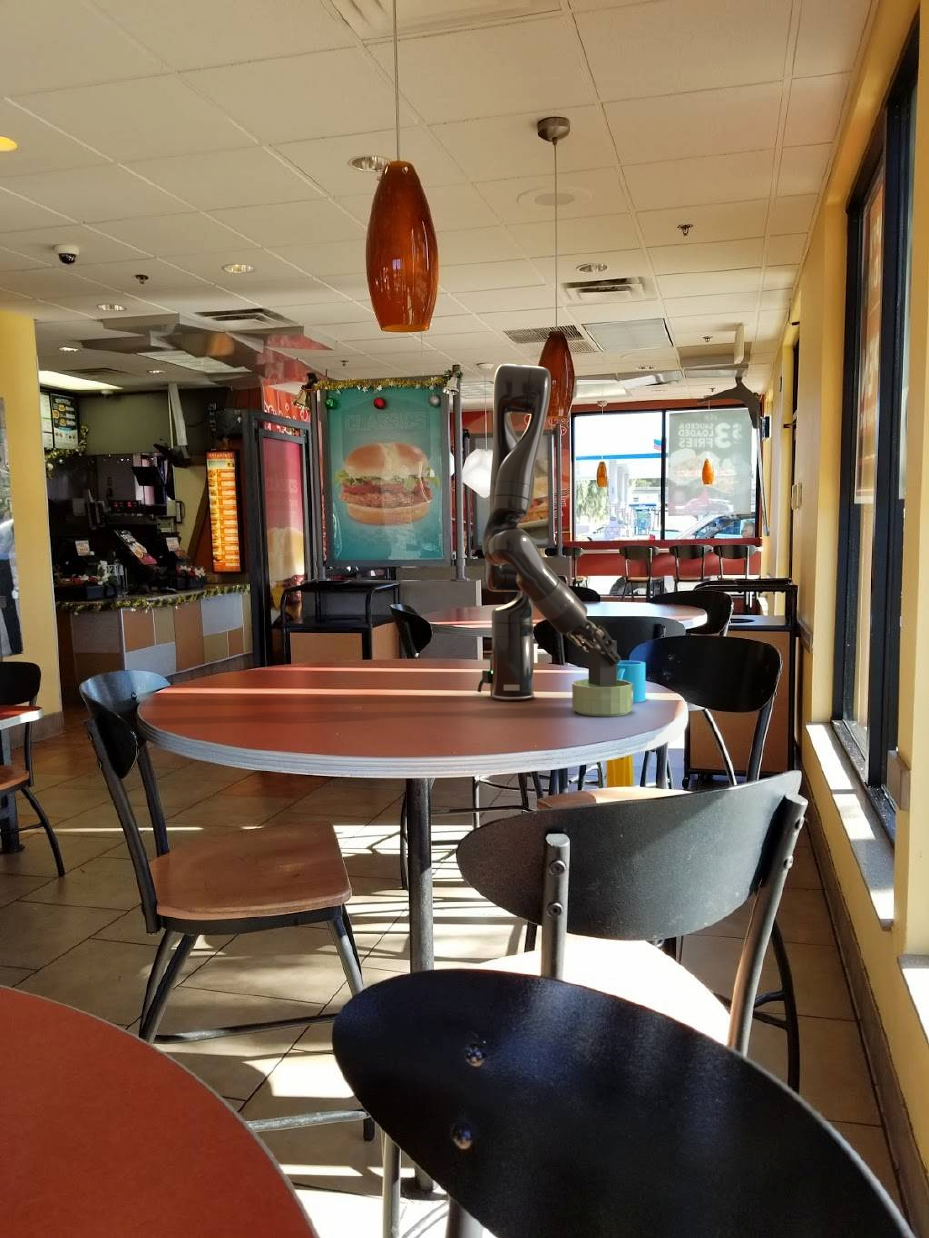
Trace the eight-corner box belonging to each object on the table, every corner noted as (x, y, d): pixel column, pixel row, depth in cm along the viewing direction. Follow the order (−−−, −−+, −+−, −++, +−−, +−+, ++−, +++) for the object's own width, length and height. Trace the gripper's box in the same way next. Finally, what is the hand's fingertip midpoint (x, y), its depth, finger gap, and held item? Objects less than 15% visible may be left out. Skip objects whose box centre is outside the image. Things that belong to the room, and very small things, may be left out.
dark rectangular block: (600, 686, 186) (600, 641, 186) (588, 683, 190) (588, 639, 190) (616, 684, 188) (616, 640, 187) (604, 682, 192) (604, 638, 191)
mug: (612, 695, 210) (612, 660, 209) (648, 697, 206) (648, 661, 206) (599, 704, 199) (599, 666, 198) (637, 706, 195) (637, 668, 195)
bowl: (560, 711, 191) (560, 682, 191) (603, 704, 198) (603, 676, 198) (600, 719, 181) (600, 689, 181) (645, 712, 188) (645, 683, 188)
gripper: (589, 592, 178) (641, 651, 184) (552, 590, 191) (602, 645, 197) (566, 620, 177) (619, 679, 182) (530, 616, 189) (581, 671, 195)
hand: (610, 661), depth 190 cm, fingers closed on dark rectangular block, 4 cm apart
